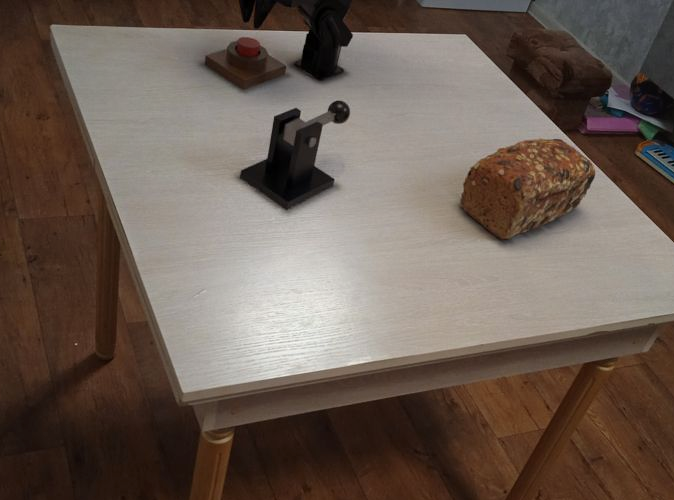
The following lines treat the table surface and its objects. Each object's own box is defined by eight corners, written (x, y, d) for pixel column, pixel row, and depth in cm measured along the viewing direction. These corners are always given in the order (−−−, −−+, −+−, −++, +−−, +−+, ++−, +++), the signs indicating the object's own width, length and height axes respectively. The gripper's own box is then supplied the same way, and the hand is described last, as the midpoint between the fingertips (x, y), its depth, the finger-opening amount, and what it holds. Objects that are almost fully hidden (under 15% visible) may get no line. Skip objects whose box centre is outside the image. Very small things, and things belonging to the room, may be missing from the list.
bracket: (287, 155, 122) (298, 95, 115) (333, 185, 119) (347, 125, 112) (239, 177, 115) (248, 114, 109) (286, 209, 112) (298, 147, 105)
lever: (335, 113, 120) (339, 93, 117) (352, 123, 118) (356, 104, 116) (279, 140, 112) (282, 119, 110) (296, 151, 111) (300, 130, 109)
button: (247, 45, 137) (248, 35, 136) (263, 54, 136) (264, 44, 134) (231, 49, 135) (233, 39, 133) (247, 59, 133) (249, 49, 132)
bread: (504, 246, 117) (529, 187, 110) (451, 204, 121) (472, 146, 115) (580, 213, 127) (608, 157, 120) (530, 175, 132) (553, 120, 125)
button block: (246, 51, 142) (249, 31, 140) (285, 74, 139) (288, 55, 137) (204, 64, 136) (206, 44, 133) (243, 89, 133) (246, 69, 130)
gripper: (180, -96, 119) (173, 10, 130) (273, -45, 113) (258, 62, 124) (234, -104, 126) (224, -3, 137) (325, -56, 120) (307, 46, 131)
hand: (251, 25), depth 132 cm, fingers closed
